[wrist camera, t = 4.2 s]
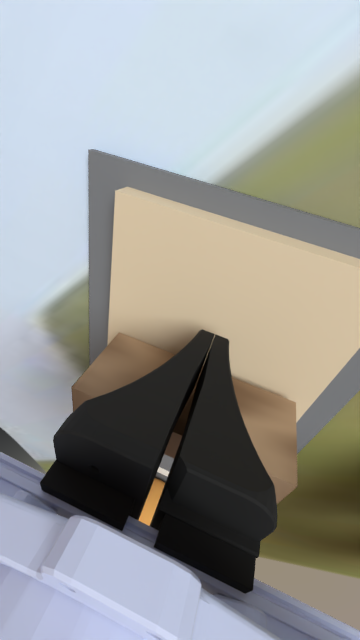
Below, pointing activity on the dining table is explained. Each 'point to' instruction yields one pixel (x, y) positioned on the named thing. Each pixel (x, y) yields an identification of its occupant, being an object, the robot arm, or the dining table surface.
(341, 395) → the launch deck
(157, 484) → the ball
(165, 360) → the pusher bar
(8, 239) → the dining table surface
